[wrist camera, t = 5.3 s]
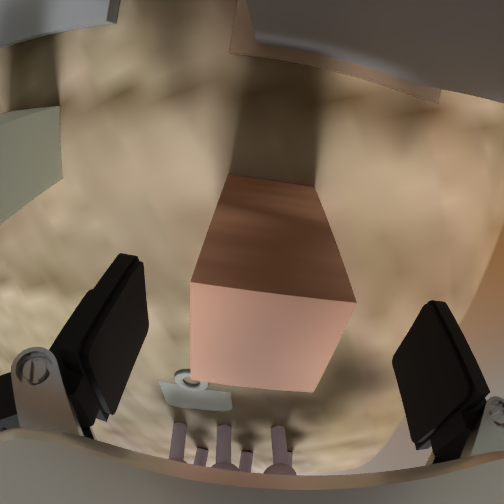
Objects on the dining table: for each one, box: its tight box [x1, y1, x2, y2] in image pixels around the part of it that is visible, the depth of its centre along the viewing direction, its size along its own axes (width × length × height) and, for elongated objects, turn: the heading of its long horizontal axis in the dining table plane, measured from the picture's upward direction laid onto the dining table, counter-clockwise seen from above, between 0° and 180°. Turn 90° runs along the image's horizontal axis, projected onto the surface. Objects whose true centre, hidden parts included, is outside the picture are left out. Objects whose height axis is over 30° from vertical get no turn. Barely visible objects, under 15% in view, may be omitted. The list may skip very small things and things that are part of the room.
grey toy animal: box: [168, 422, 296, 475], centre depth 23 cm, size 20×11×14 cm, turn 94°
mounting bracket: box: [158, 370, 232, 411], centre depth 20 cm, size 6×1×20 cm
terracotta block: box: [190, 175, 356, 392], centre depth 12 cm, size 4×4×8 cm
